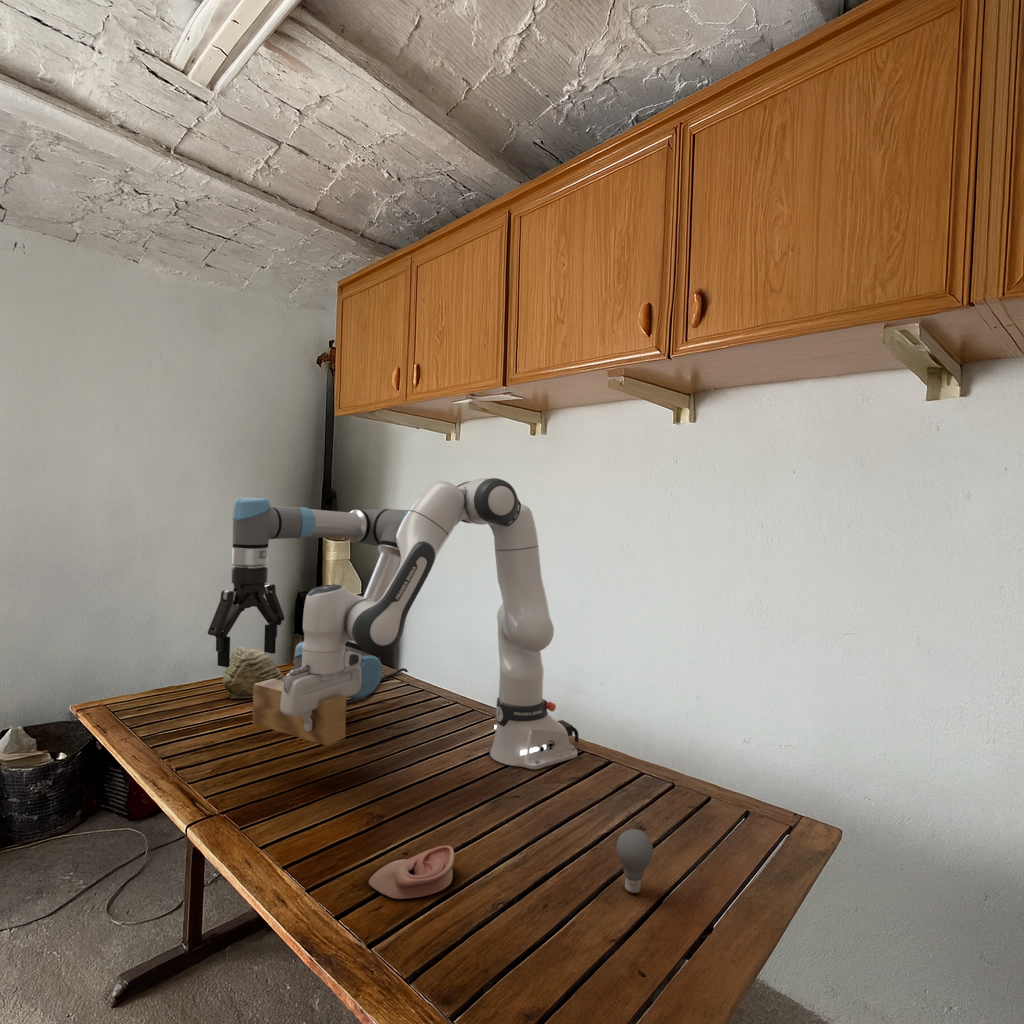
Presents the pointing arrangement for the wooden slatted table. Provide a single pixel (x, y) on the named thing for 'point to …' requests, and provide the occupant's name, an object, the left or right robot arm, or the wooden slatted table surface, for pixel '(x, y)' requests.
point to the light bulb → (634, 857)
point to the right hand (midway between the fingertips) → (321, 725)
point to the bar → (325, 716)
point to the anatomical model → (416, 874)
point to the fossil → (248, 671)
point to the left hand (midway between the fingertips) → (247, 659)
